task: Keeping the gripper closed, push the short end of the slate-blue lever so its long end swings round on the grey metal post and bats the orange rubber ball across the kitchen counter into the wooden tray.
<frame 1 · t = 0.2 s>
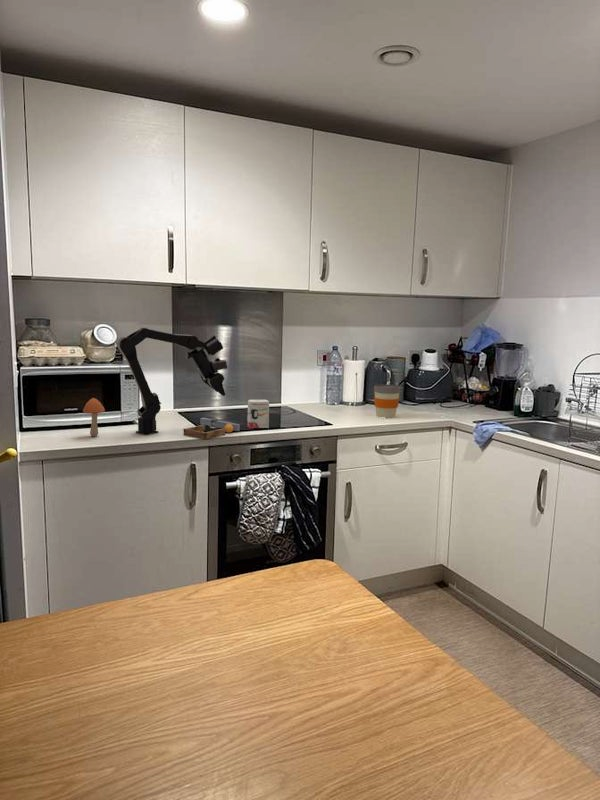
hand: (221, 393, 239), 15 cm above the kitchen counter, tool tilted 30°, fingers open, 9 cm apart
ink box: (258, 428, 244), on the kitchen counter
ball: (228, 428, 232), point 2 cm above the kitchen counter
reusable coffee cup: (385, 417, 277), on the kitchen counter
lever: (219, 423, 240), point 2 cm above the kitchen counter, hinge at 0.0°
post: (214, 427, 242), on the kitchen counter
mushroom: (94, 436, 220), on the kitchen counter
wooden tray: (204, 435, 227), on the kitchen counter
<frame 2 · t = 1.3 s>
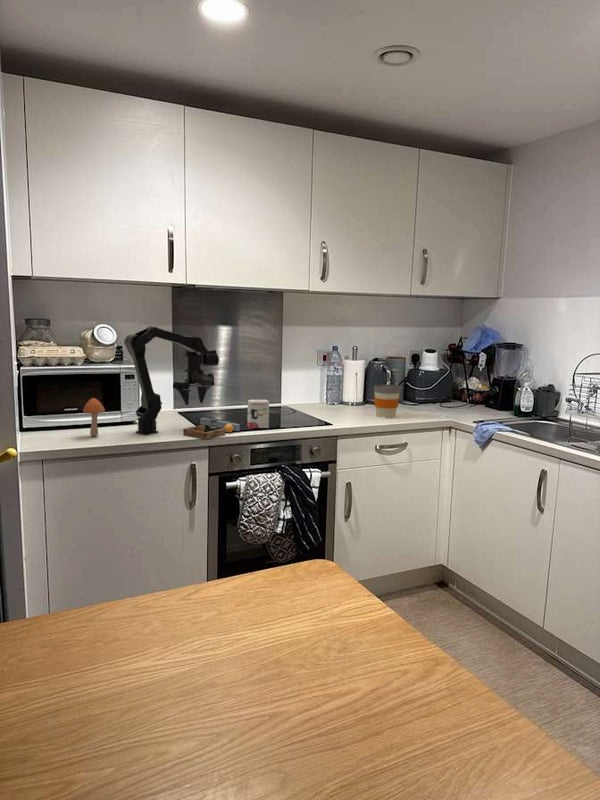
hand: (194, 404, 239), 10 cm above the kitchen counter, tool pointing down, fingers open, 8 cm apart
nothing on the kitchen counter moved.
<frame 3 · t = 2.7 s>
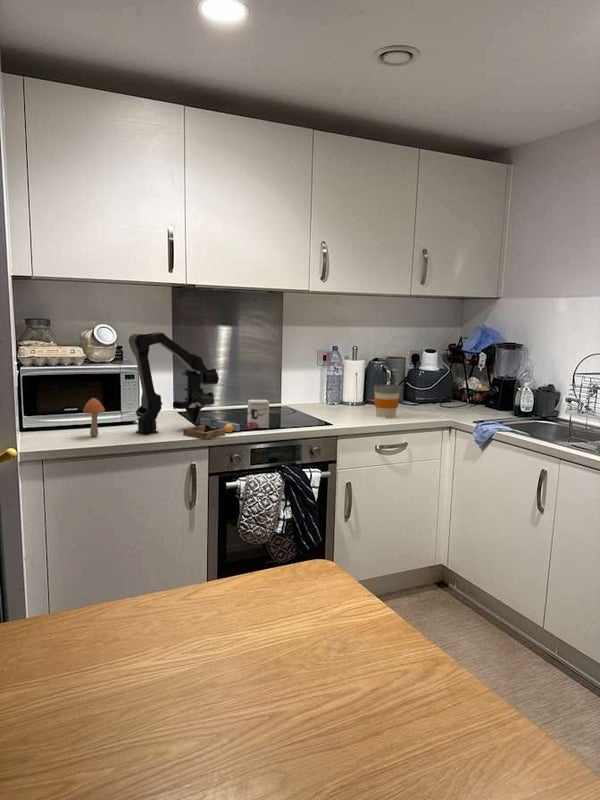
hand: (194, 422, 240), 2 cm above the kitchen counter, tool pointing down, fingers closed
nothing on the kitchen counter moved.
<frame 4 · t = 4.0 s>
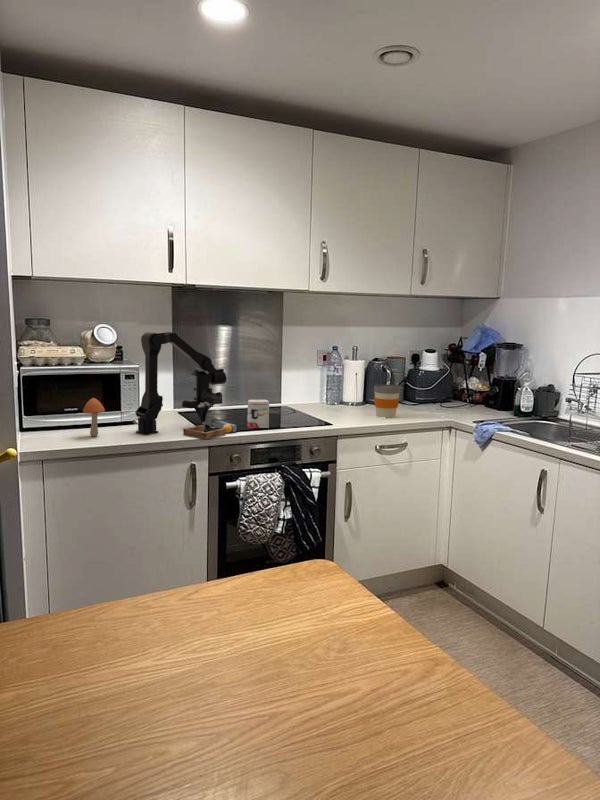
hand: (202, 421, 244), 2 cm above the kitchen counter, tool pointing down, fingers closed
ball: (227, 428, 232), point 2 cm above the kitchen counter, tilted 21°
lever: (218, 423, 240), point 2 cm above the kitchen counter, hinge at -8.7°, touching gripper
everything else where it was.
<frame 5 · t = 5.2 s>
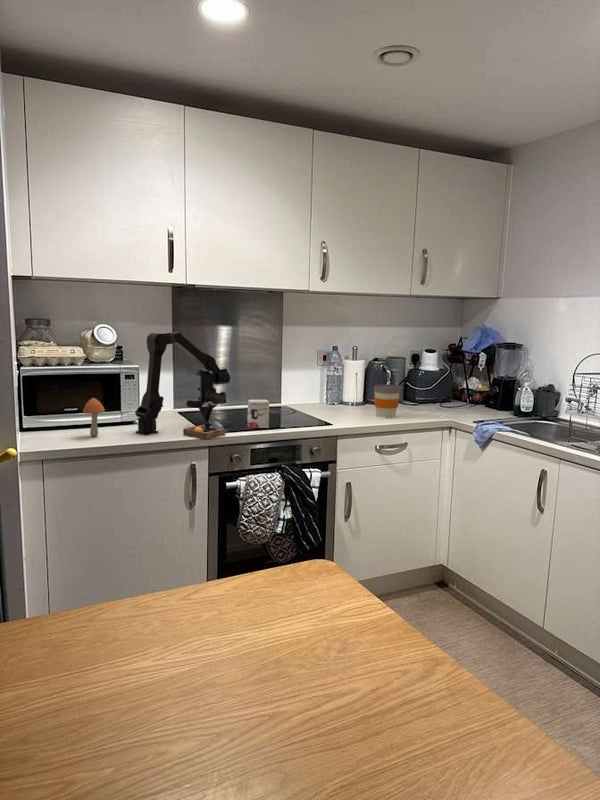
hand: (206, 421, 246), 2 cm above the kitchen counter, tool pointing down, fingers closed
ball: (198, 431, 225), point 2 cm above the kitchen counter, tilted 65°
lever: (215, 424, 239), point 2 cm above the kitchen counter, hinge at -34.5°, touching gripper
everything else where it was.
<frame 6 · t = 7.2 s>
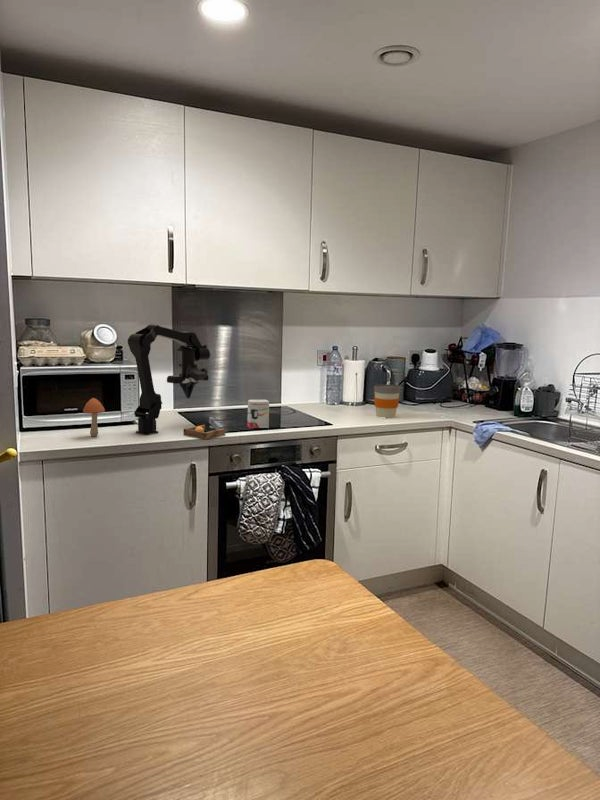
hand: (188, 398, 244), 12 cm above the kitchen counter, tool pointing down, fingers closed
ball: (199, 431, 226), point 2 cm above the kitchen counter, tilted 42°
lever: (215, 424, 239), point 2 cm above the kitchen counter, hinge at -34.5°
everything else where it was.
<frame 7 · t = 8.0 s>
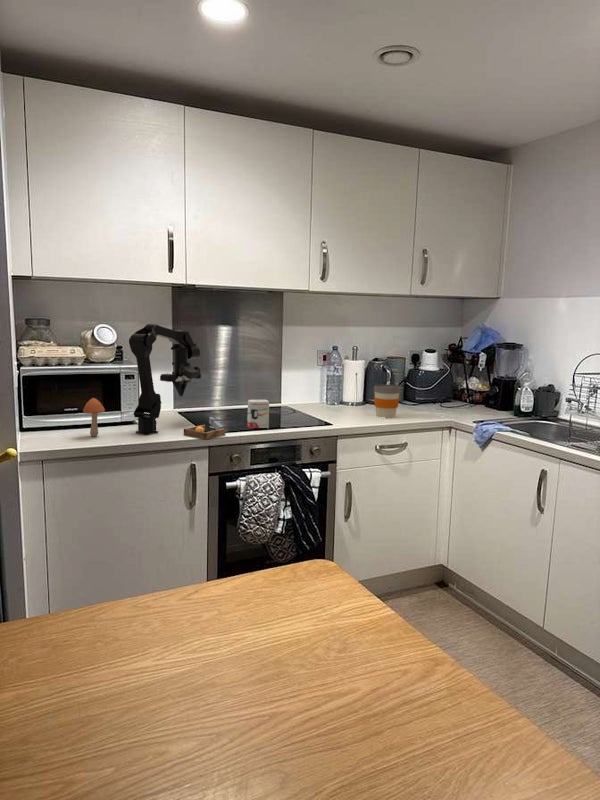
hand: (181, 396, 246), 12 cm above the kitchen counter, tool pointing down, fingers closed
ball: (199, 430, 226), point 2 cm above the kitchen counter, tilted 33°
everything else where it was.
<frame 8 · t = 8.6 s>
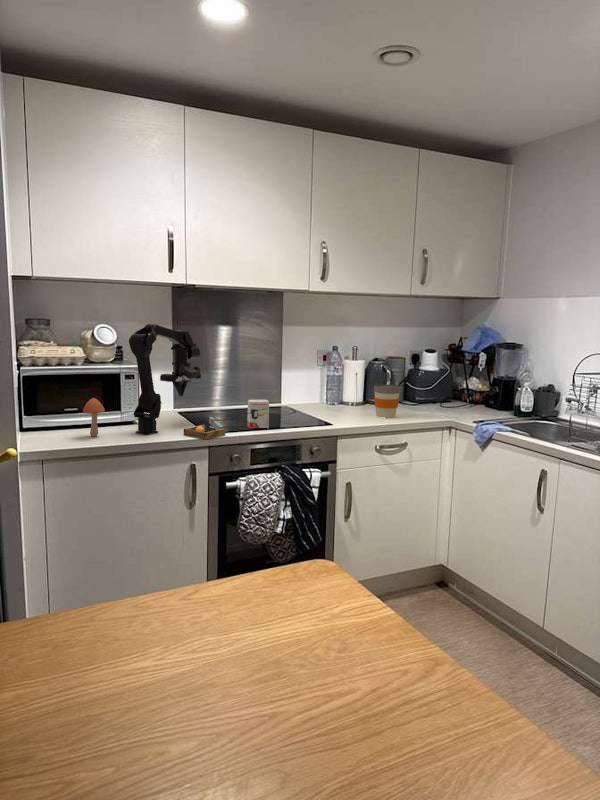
hand: (181, 396, 246), 12 cm above the kitchen counter, tool pointing down, fingers closed
ball: (200, 430, 226), point 2 cm above the kitchen counter, tilted 28°
everything else where it was.
at the end: ball inside the target area (2.1 cm from its centre), point 1.8 cm above the kitchen counter; lever at -34° (first picture: +0°) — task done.
